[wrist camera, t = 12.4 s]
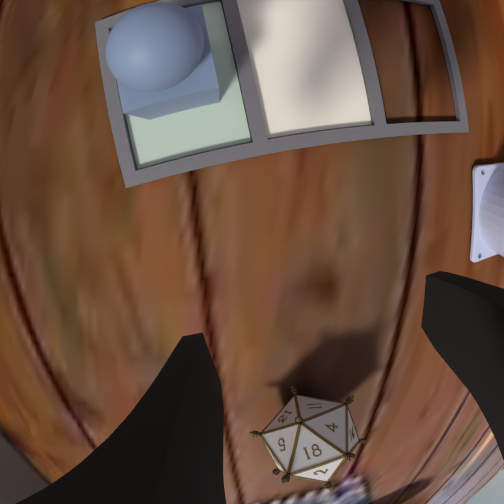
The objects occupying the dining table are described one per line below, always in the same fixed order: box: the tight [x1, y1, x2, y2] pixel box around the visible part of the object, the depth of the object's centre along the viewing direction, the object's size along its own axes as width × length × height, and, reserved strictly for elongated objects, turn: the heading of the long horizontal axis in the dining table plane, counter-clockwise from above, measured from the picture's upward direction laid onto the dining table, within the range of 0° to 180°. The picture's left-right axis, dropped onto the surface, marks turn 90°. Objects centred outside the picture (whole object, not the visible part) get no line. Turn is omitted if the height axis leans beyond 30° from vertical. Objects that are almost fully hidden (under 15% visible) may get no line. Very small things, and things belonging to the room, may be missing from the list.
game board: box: [95, 0, 469, 188], centre depth 15 cm, size 23×11×1 cm, turn 101°
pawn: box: [105, 2, 219, 120], centre depth 11 cm, size 4×4×8 cm
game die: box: [249, 385, 368, 491], centre depth 21 cm, size 9×8×10 cm
